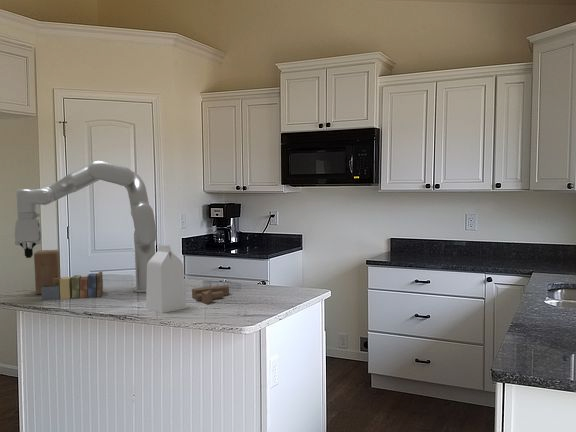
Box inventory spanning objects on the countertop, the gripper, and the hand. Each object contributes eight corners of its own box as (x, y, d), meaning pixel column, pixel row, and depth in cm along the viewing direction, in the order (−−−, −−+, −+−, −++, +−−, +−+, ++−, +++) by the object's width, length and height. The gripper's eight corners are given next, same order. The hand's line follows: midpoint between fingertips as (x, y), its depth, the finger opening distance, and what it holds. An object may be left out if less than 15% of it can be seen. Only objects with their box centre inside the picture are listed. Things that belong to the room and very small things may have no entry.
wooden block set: (189, 286, 242) (227, 282, 251) (189, 299, 242) (227, 294, 251) (203, 292, 227) (243, 287, 236) (204, 306, 228) (243, 300, 237)
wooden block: (35, 295, 257) (33, 252, 255) (39, 291, 266) (37, 250, 265) (58, 293, 259) (56, 251, 258) (61, 289, 269) (59, 249, 268)
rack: (103, 292, 260) (102, 271, 259) (99, 297, 249) (99, 275, 248) (53, 295, 255) (52, 273, 255) (48, 300, 244) (47, 277, 244)
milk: (146, 308, 223) (143, 245, 222) (170, 303, 231) (168, 242, 230) (161, 313, 215) (159, 247, 213) (186, 307, 223) (184, 244, 221)
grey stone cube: (62, 297, 251) (61, 284, 251) (59, 299, 245) (59, 286, 245) (44, 298, 250) (44, 285, 249) (41, 300, 244) (41, 287, 243)
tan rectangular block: (72, 296, 252) (71, 276, 252) (69, 298, 246) (68, 279, 246) (63, 296, 251) (62, 277, 251) (60, 299, 245) (59, 279, 245)
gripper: (46, 215, 249) (48, 255, 250) (11, 216, 246) (13, 257, 247) (42, 216, 241) (44, 257, 242) (6, 217, 238) (8, 259, 239)
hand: (28, 257), depth 245 cm, fingers closed
